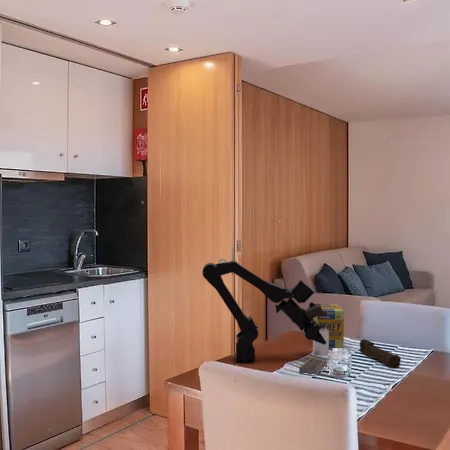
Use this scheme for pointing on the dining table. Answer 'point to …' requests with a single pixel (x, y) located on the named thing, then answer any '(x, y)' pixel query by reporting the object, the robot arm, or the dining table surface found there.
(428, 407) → the dining table surface
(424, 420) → the dining table surface
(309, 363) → the grey gold-striped flat block
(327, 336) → the pale upright block
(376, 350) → the dark brown rod
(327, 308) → the protein box
